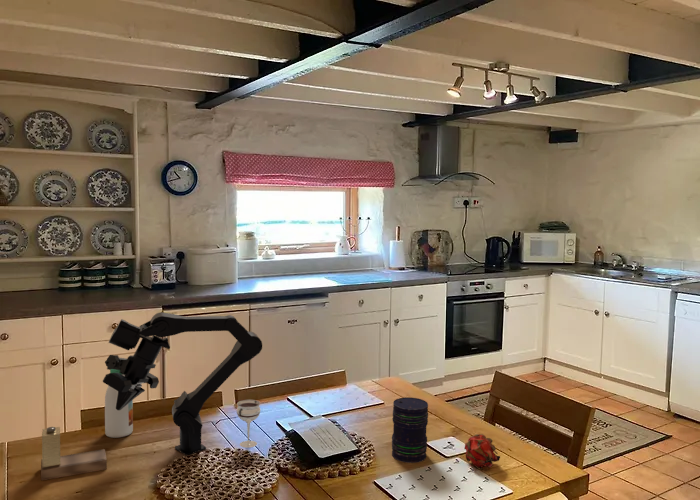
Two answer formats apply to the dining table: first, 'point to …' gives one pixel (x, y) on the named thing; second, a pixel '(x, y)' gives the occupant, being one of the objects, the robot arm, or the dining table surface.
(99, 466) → the body
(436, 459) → the dining table surface
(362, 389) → the dining table surface
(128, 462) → the dining table surface
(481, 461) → the dragon fruit
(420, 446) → the dark blue cylinder
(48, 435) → the beige rectangular block
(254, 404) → the wineglass
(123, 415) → the milk bottle
